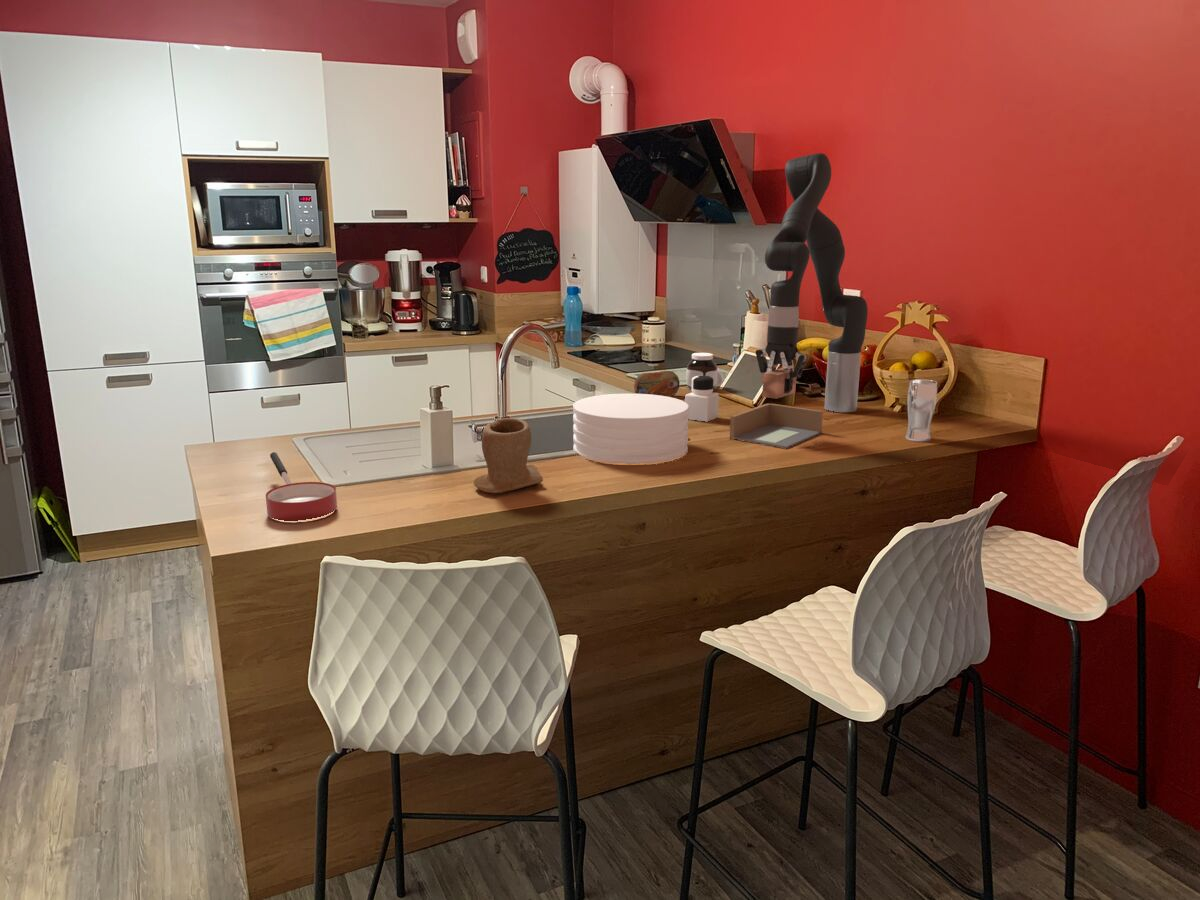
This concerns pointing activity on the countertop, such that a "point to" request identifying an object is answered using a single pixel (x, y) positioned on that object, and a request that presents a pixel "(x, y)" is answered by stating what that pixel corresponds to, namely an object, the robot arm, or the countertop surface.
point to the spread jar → (703, 369)
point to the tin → (657, 383)
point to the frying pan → (299, 498)
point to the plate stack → (630, 428)
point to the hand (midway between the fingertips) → (779, 391)
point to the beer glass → (920, 408)
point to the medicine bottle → (702, 399)
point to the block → (775, 384)
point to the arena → (776, 425)
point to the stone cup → (507, 457)
